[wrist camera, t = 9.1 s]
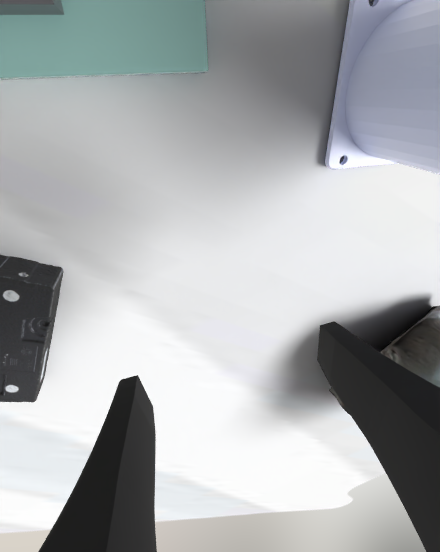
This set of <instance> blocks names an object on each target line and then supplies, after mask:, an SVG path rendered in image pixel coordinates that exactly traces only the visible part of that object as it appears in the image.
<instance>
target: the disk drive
mask: <svg viewBox="0 0 440 552" xmlns="http://www.w3.org/2000/svg"><path fill="white" fill-rule="evenodd" d="M62 276H63V269H62V268H61V267H54V266H52V265H46V264H40V263H38V262H36V261H31V260H26V259H23V258H17V257H7V256H2V255H0V402H35V401H36V399H37V396H38V394H39V391H40V388H41V385H42V383H43V380H44V376H45V371H46V364H47V360H48V354H49V348H50V343H51V339H52V333H53V327H54V322H55V317H56V310H57V305H58V299H59V293H60V292H59V291H60V286H61V281H62Z"/></svg>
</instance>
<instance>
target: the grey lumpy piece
mask: <svg viewBox="0 0 440 552" xmlns="http://www.w3.org/2000/svg"><path fill="white" fill-rule="evenodd" d="M380 353H382V354H384V355H385V356H387V357H388V358H390V359H391V360H393V361H395V362H396V363H398V364H399V365H401V366H403V367H404V368H406V369H408V370H409V371H411V372H413V373H415V374H416V375H418V376H420V377H421V378H423V379H425V380H427V381H429V382H430V383H432V384H434V385H436V386H438V387H440V306H434V307H432V309H431V310H430V311H429V312H428V314H427V315H426V316H425V317H423V318H422V319H421V320H420V321H418V322H417V323H416V324H415V325H413V326H412V327H411V328H410V329H408V330H407V331H406V332H405V333H403V334H402V335H401V336H400V337H398V338H396V339H395V340H393V341H392V342H391V344H389V345H388V346H387V347H386V348H384V349H383V350H382V351H381V352H380ZM329 391H330V392H331V393H332V394H333V395H334V396H335V397H336V398H337V400H338V402H339V404H340V405H341V406H342V408H343V409H344V410H345V411H346V412H347V413H348V414H350V413H349V412H348V410H347V409H346V407H345V406H344V404H343V403H342V401H341V400H340V398H339V397H338V395H337V394H336V392H335V391H334V389H333V388H331V389H330V390H329Z"/></svg>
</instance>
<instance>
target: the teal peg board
mask: <svg viewBox="0 0 440 552" xmlns="http://www.w3.org/2000/svg"><path fill="white" fill-rule="evenodd" d="M207 71H208V55H207V34H206V14H205V0H0V79H28V78H57V77H86V76H115V75H144V74H174V73H203V72H207Z"/></svg>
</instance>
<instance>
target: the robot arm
mask: <svg viewBox="0 0 440 552" xmlns="http://www.w3.org/2000/svg"><path fill="white" fill-rule="evenodd" d="M342 156H344V159H343V161H342V162H341V163H340V161H339V160H340V158H341V157H342ZM395 163H399V164H403V165H407V166H410V167H414V168H418V169H421V170H425V171H429V172H433V173H436V174H440V0H373V4H372V6H370V5H369V0H350V4H349V10H348V17H347V23H346V29H345V36H344V42H343V49H342V55H341V62H340V68H339V75H338V81H337V87H336V94H335V100H334V107H333V113H332V120H331V126H330V132H329V139H328V145H327V152H326V158H325V164H326V166H327V167H328V168H330V169H344V168H354V167H364V166H374V165H385V164H395ZM317 360H318V362H319V364H320V366H321V368H322V370H323V372H324V374H325V376H326V378H327V379H328V381H329V383H330V385H331V386H332V388H333V389H334V391H335V392H336V394H337V395H338V397H339V398H340V400H341V401H342V403H343V404H344V406H345V407H346V409H347V410H348V412H349V413H350V415H351V416H352V418H353V419H354V421H355V422H356V424H357V425H358V427H359V428H360V430H361V431H362V433H363V434H364V436H365V437H366V439H367V440H368V442H369V444H370V445H371V447H372V448H373V450H374V452H375V454H376V456H377V457H378V459H379V461H380V463H381V465H382V466H383V468H384V470H385V472H386V474H387V475H388V477H389V479H390V481H391V483H392V485H393V487H394V488H395V490H396V492H397V494H398V496H399V498H400V500H401V502H402V503H403V505H404V507H405V509H406V511H407V513H408V515H409V517H410V519H411V521H412V523H413V525H414V527H415V529H416V531H417V533H418V535H419V537H420V539H421V541H422V543H423V545H424V547H425V550H426V552H440V387H438V386H436V385H434V384H432V383H430V382H429V381H427V380H425V379H423V378H421V377H420V376H418V375H416V374H415V373H413V372H411V371H409V370H408V369H406V368H404V367H403V366H401V365H399V364H398V363H396V362H395V361H393V360H391V359H390V358H388V357H387V356H385V355H384V354H382V353H380V352H379V351H377V350H376V349H374V348H373V347H371V346H370V345H368V344H367V343H365V342H364V341H362V340H361V339H359V338H358V337H357V336H355V335H354V334H352V333H351V332H349V331H348V330H346V329H345V328H343V327H342V326H340V325H339V324H337V323H336V322H331V323H327V324H324V325H320V333H319V345H318V358H317ZM154 496H155V423H154V413H153V406H152V404H151V402H150V400H149V398H148V396H147V393H146V391H145V389H144V387H143V385H142V383H141V381H140V379H139V377H138V375H137V376H133V377H130V378H126V379H122V380H121V381H120V382H119V384H118V387H117V390H116V393H115V396H114V398H113V401H112V404H111V406H110V409H109V412H108V414H107V417H106V419H105V422H104V424H103V426H102V429H101V431H100V434H99V436H98V438H97V441H96V443H95V445H94V448H93V450H92V452H91V454H90V456H89V458H88V460H87V463H86V465H85V467H84V469H83V471H82V473H81V475H80V477H79V479H78V481H77V483H76V485H75V487H74V489H73V491H72V493H71V495H70V497H69V499H68V501H67V503H66V504H65V506H64V508H63V510H62V512H61V514H60V515H59V517H58V519H57V521H56V523H55V524H54V526H53V528H52V530H51V531H50V533H49V535H48V536H47V538H46V540H45V542H44V543H43V545H42V547H41V548H40V550H39V552H157V551H156V536H155V514H154Z"/></svg>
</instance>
